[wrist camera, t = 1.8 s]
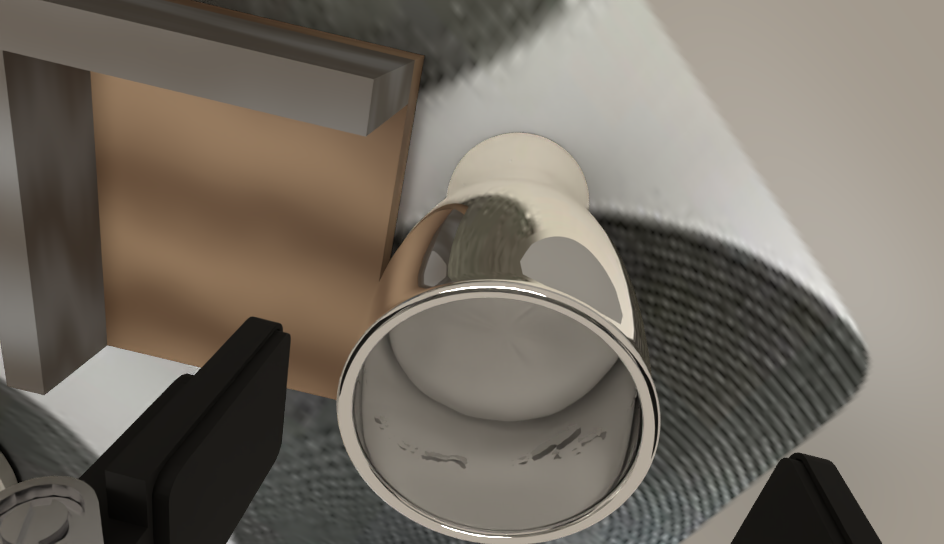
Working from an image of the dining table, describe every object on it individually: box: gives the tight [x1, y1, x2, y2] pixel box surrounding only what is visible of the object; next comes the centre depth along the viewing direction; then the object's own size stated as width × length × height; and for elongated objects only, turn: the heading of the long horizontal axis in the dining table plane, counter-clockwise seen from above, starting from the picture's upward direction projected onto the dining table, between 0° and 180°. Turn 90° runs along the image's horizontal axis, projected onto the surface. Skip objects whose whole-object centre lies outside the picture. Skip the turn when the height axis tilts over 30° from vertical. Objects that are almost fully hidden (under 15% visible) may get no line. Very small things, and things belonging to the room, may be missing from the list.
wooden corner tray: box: [0, 0, 424, 400], centre depth 23 cm, size 16×14×8 cm
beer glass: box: [337, 133, 660, 544], centre depth 19 cm, size 7×7×15 cm
